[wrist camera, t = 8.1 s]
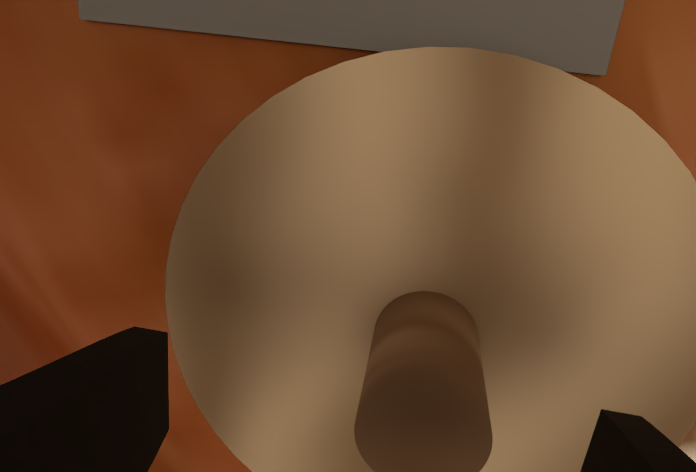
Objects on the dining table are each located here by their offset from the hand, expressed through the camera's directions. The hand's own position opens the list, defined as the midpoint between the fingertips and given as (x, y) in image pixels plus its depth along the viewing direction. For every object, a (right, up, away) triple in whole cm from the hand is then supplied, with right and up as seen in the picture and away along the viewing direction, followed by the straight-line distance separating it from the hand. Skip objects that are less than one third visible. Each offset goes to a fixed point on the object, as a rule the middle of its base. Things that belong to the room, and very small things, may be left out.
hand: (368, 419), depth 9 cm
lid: (+2, 0, +6) cm, 7 cm away
